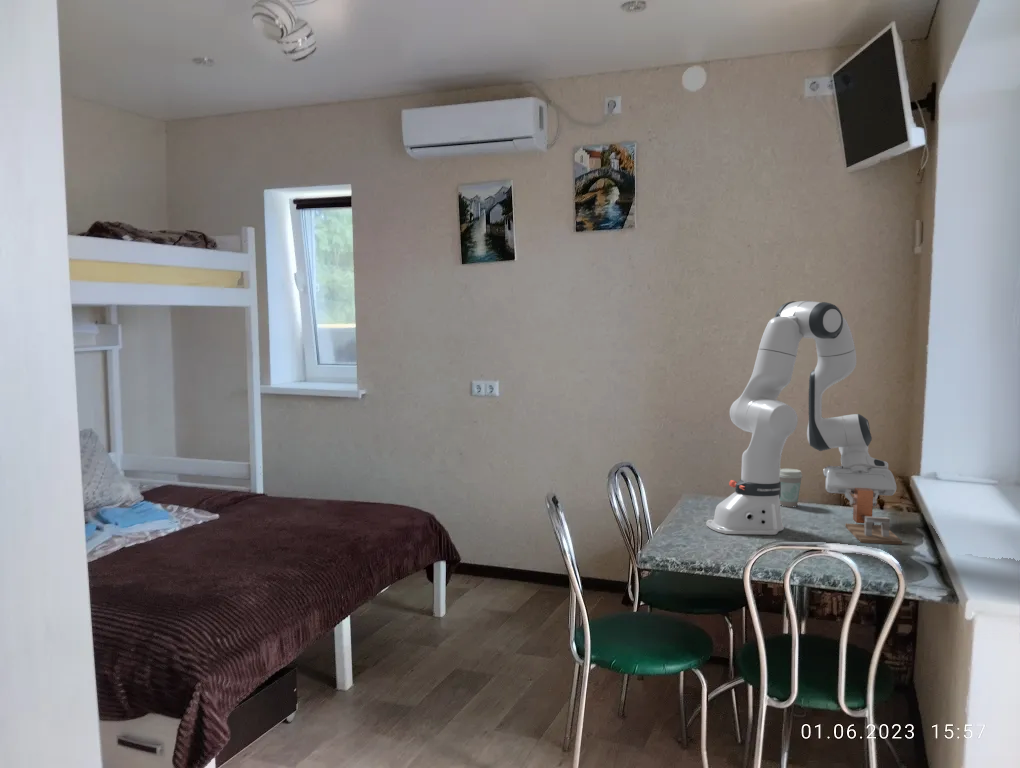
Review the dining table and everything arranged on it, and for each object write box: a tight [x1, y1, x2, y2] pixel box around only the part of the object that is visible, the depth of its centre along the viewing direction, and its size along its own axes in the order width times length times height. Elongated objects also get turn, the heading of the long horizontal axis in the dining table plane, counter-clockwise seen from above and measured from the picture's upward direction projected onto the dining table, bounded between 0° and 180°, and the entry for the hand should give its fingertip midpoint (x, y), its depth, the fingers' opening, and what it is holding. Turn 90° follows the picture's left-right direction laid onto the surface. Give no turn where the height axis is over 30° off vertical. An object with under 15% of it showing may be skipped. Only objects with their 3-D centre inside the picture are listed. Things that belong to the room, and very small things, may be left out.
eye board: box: [844, 516, 903, 545], centre depth 238 cm, size 18×11×6 cm, turn 170°
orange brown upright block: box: [852, 488, 875, 526], centre depth 246 cm, size 12×4×10 cm, turn 170°
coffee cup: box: [779, 467, 803, 508], centre depth 276 cm, size 8×9×12 cm
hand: (863, 504), depth 249 cm, fingers closed on orange brown upright block, 4 cm apart
